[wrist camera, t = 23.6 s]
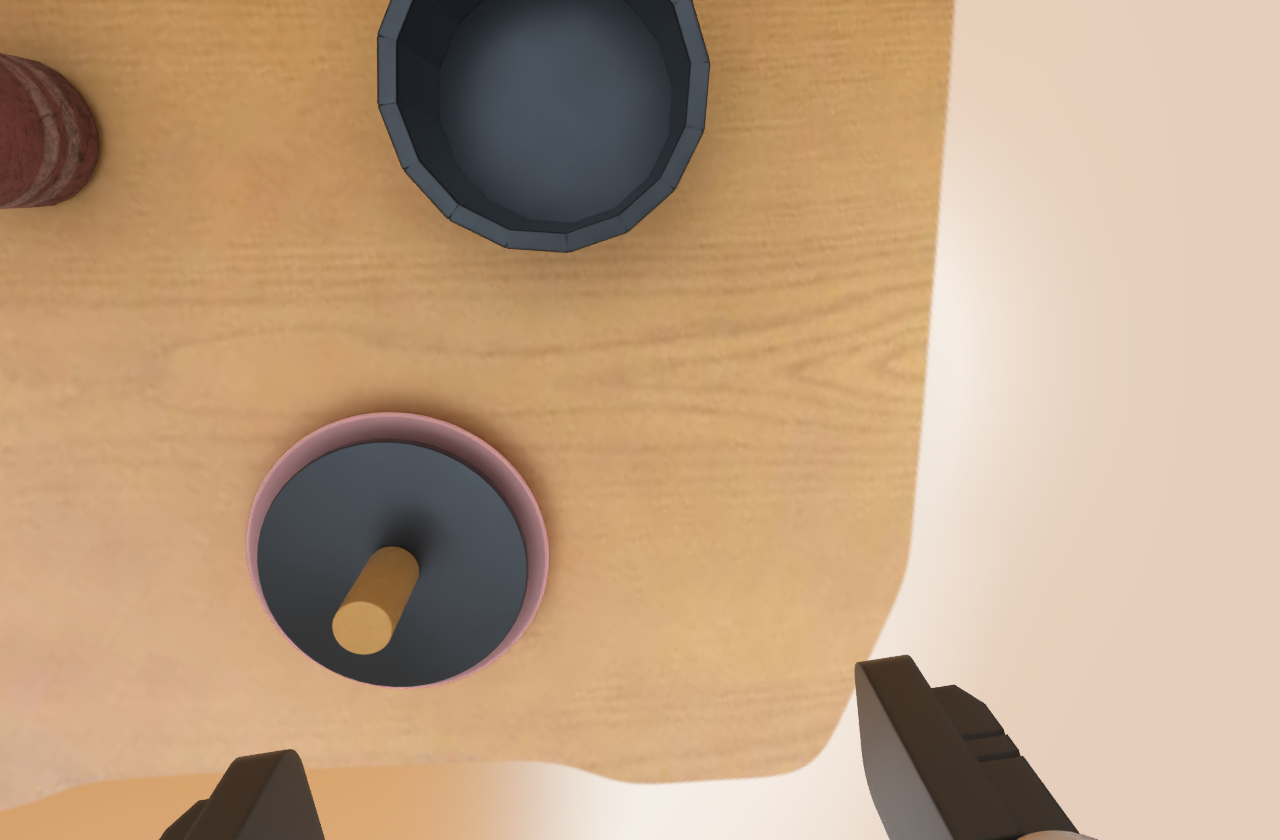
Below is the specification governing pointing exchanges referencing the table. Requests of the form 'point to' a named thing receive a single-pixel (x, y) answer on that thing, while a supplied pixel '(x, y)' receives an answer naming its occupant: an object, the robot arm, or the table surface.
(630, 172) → the tin
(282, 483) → the plate
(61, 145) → the can
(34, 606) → the table surface
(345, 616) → the lid
